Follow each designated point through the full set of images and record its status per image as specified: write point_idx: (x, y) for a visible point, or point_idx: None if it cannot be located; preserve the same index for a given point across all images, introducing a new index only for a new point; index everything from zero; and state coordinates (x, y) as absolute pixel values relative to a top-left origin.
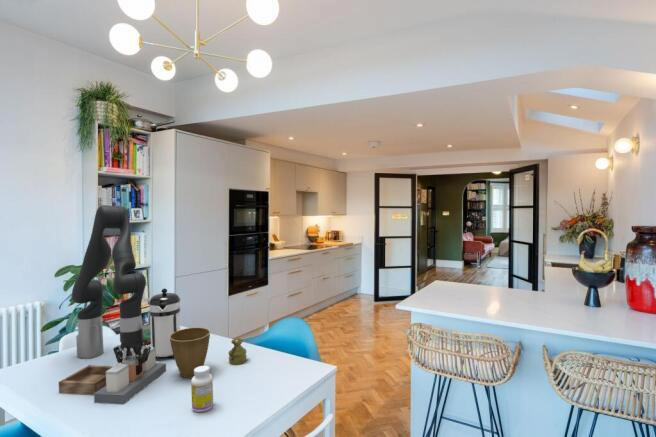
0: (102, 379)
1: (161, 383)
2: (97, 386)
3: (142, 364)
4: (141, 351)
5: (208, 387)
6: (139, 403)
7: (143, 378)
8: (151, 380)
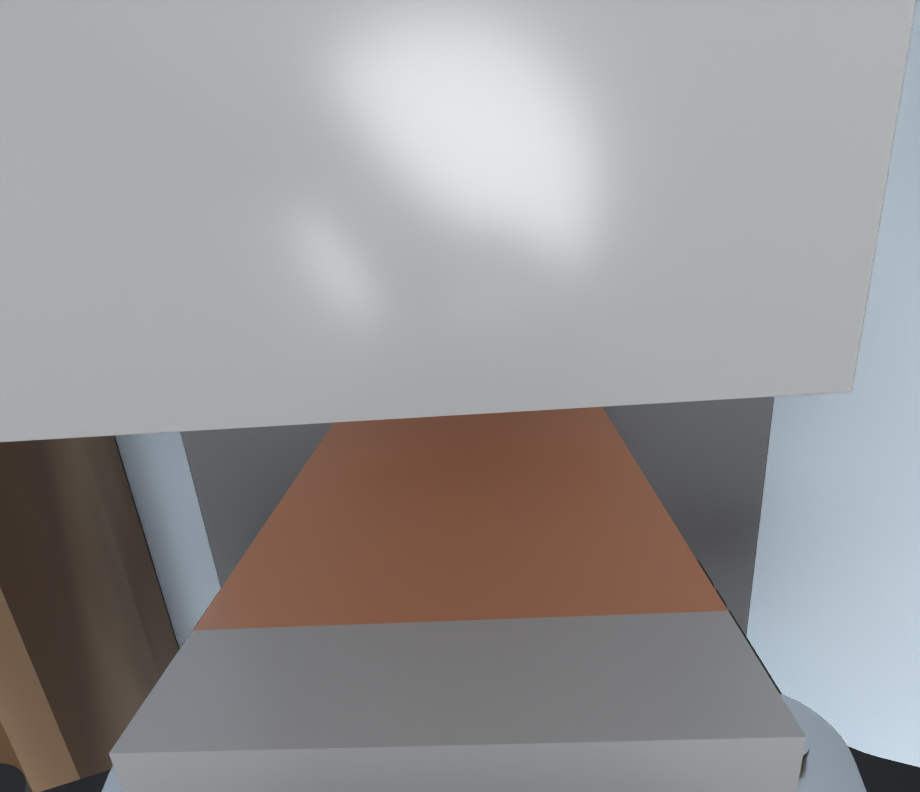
0: (73, 727)
1: (903, 341)
2: None
3: (637, 483)
4: (114, 23)
5: None
6: None
7: (715, 544)
8: None
